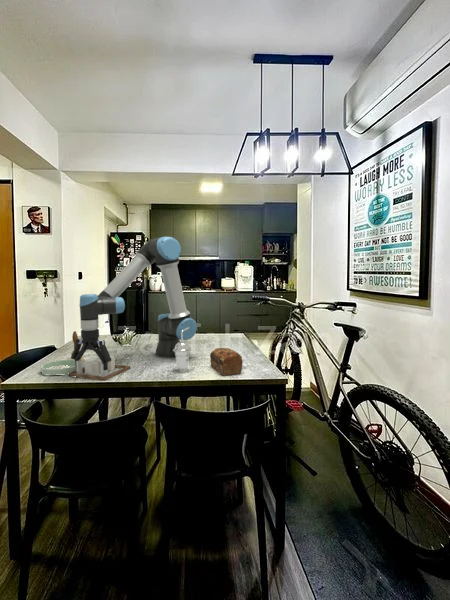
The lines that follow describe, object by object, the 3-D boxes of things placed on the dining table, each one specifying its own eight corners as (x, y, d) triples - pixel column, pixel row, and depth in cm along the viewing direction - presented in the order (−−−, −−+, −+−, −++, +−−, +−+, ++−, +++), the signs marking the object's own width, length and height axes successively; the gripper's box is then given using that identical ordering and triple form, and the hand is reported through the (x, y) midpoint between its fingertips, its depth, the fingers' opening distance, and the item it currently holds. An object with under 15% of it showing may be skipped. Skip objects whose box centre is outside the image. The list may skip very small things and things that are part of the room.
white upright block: (114, 368, 174) (114, 356, 173) (111, 370, 170) (110, 358, 169) (107, 368, 174) (106, 355, 174) (103, 370, 170) (102, 357, 170)
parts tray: (130, 368, 172) (130, 365, 172) (104, 380, 154) (104, 377, 154) (97, 365, 178) (97, 362, 178) (68, 376, 161) (68, 373, 161)
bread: (243, 374, 161) (243, 352, 161) (220, 376, 158) (220, 354, 157) (229, 364, 179) (229, 344, 178) (209, 366, 176) (209, 346, 175)
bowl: (89, 367, 176) (89, 361, 175) (62, 377, 159) (62, 371, 159) (61, 364, 181) (61, 358, 181) (32, 374, 165) (32, 367, 165)
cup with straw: (170, 369, 170) (169, 328, 168) (188, 366, 174) (187, 326, 173) (177, 374, 162) (176, 330, 161) (195, 371, 167) (194, 328, 165)
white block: (107, 371, 168) (106, 359, 167) (102, 374, 164) (101, 361, 163) (99, 371, 169) (98, 358, 168) (94, 373, 165) (94, 360, 164)
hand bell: (78, 363, 182) (77, 333, 181) (64, 363, 184) (62, 332, 183) (88, 359, 191) (86, 330, 189) (74, 359, 192) (72, 329, 191)
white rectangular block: (98, 375, 162) (98, 362, 161) (91, 378, 158) (91, 364, 157) (92, 374, 163) (91, 361, 163) (85, 377, 160) (84, 363, 159)
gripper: (118, 329, 158) (120, 376, 160) (73, 326, 166) (75, 371, 168) (107, 331, 151) (109, 381, 153) (61, 328, 159) (63, 375, 161)
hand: (91, 375), depth 161 cm, fingers open, 13 cm apart
